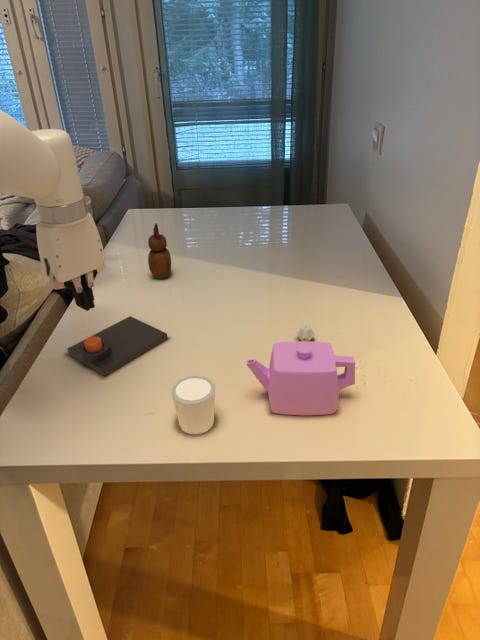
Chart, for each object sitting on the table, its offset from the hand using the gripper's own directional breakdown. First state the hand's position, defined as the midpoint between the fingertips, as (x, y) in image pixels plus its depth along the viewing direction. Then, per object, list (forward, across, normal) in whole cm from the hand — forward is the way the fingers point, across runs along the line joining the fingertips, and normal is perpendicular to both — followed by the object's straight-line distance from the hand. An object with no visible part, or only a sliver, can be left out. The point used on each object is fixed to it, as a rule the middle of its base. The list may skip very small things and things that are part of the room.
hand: (86, 306), depth 86 cm
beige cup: (+12, +1, +28) cm, 30 cm away
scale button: (+9, +1, 0) cm, 9 cm away
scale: (+12, -5, 0) cm, 13 cm away
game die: (+12, -30, +29) cm, 43 cm away
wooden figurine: (+12, -33, -18) cm, 39 cm away
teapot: (+12, -14, +38) cm, 42 cm away
